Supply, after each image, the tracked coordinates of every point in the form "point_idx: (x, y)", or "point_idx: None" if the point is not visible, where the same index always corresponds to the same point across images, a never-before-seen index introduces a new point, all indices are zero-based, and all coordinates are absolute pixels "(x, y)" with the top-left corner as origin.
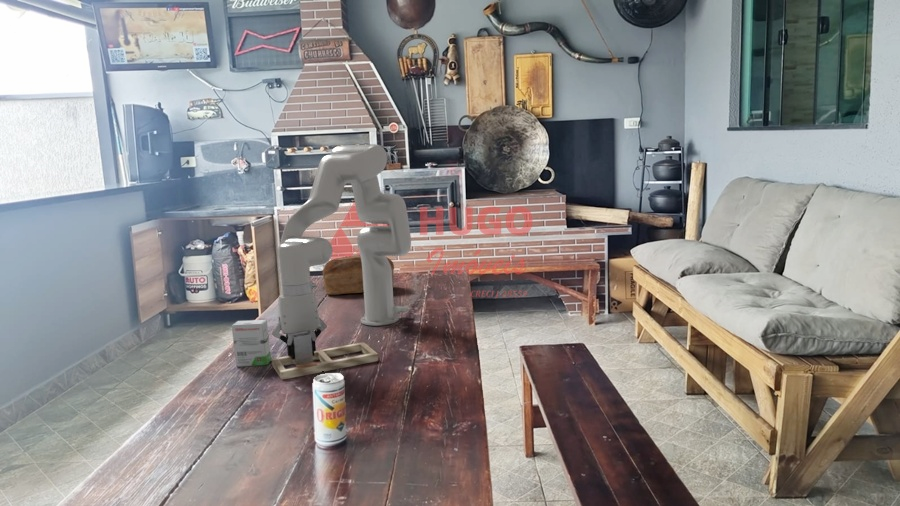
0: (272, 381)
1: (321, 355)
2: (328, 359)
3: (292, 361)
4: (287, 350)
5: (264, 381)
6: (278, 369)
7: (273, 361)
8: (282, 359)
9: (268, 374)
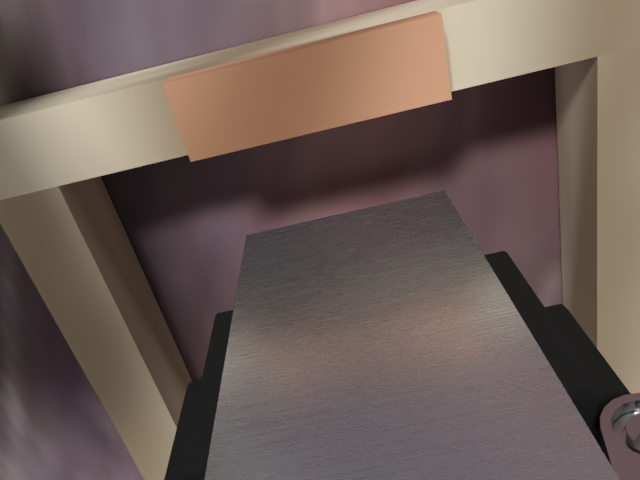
0: (114, 476)
1: (603, 210)
2: (632, 356)
3: (246, 237)
4: (183, 425)
5: (47, 463)
6: (131, 445)
7: (11, 242)
8: (111, 168)
9: (35, 338)
